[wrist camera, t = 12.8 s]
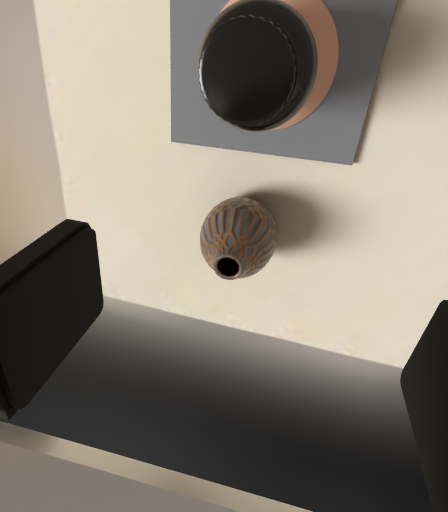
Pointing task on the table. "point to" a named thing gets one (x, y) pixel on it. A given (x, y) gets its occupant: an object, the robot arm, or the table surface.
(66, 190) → the table surface
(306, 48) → the supplement bottle
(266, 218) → the vase
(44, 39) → the table surface
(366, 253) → the table surface
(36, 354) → the robot arm
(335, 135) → the mat
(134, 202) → the table surface
